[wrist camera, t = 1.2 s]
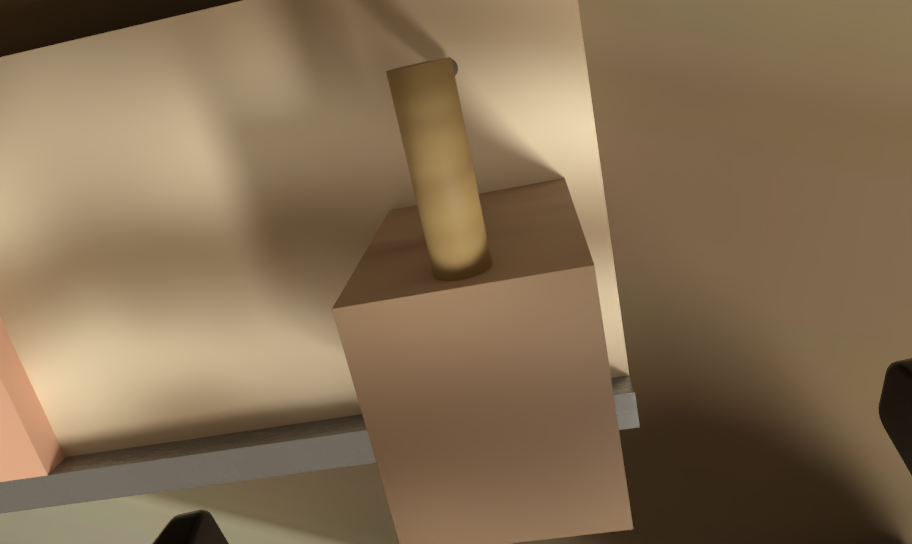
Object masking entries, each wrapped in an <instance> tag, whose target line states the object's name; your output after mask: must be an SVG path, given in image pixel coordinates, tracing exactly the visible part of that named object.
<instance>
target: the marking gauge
mask: <svg viewBox="0 0 912 544" xmlns="http://www.w3.org/2000/svg"><path fill="white" fill-rule="evenodd" d="M457 72H458V65H457V63H456V62H455V61H454V60H453V59H451V57H447V58H441V59H435V60H430V61H425V62H421V63H416V64H412V65H407V66H403V67H399V68H396V69H392V70H389V71H386V73H387V78H388V82H389V86H390V91H391V95H392V99H393V103H394V108H395V112H396V116H397V121H398V125H399V129H400V134H401V138H402V142H403V146H404V151H405V155H406V159H407V164H408V168H409V172H410V177H411V181H412V185H413V189H414V194H415V198H416V202H417V205H416V206H410V207H405V208H399V209H394V210H389V212H388V214H387V215H386V217H385V219H384V221H383V222H382V224H381V226H380V227H379V229H378V231H377V233H376V234H375V236H374V238H373V239H372V241H371V243H370V245H369V246H368V248H367V250H366V251H365V253H364V255H363V256H362V258H361V260H360V262H359V263H358V265H357V267H356V268H355V270H354V272H353V274H352V275H351V277H350V279H349V280H348V282H347V284H346V285H345V287H344V289H343V291H342V292H341V294H340V296H339V297H338V299H337V301H336V303H335V304H334V306H333V308H332V312H333V315H334V319H335V322H336V326H337V329H338V333H339V336H340V340H341V343H342V346H343V350H344V353H345V357H346V360H347V364H348V367H349V371H350V374H351V377H352V381H353V384H354V388H355V391H356V395H357V398H358V402H359V405H360V408H361V412H362V415H363V419H364V422H365V426H366V429H367V432H368V436H369V439H370V443H371V446H372V450H373V453H374V457H375V460H376V464H377V467H378V470H379V474H380V477H381V481H382V484H383V488H384V491H385V494H386V498H387V501H388V505H389V508H390V512H391V515H392V519H393V522H394V525H395V529H396V532H397V536H398V539H399V543H400V544H510V543H519V542H528V541H536V540H545V539H554V538H562V537H571V536H580V535H588V534H597V533H606V532H614V531H623V530H632V529H633V522H632V516H631V509H630V502H629V495H628V489H627V482H626V475H625V468H624V462H623V455H622V448H621V441H620V435H619V428H618V421H617V414H616V408H615V401H614V394H613V387H612V381H611V374H610V367H609V360H608V354H607V347H606V340H605V333H604V327H603V320H602V313H601V306H600V300H599V293H598V286H597V279H596V272H595V266H594V262H593V260H592V257H591V254H590V251H589V248H588V245H587V242H586V239H585V236H584V233H583V230H582V227H581V224H580V221H579V218H578V215H577V213H576V210H575V207H574V204H573V201H572V198H571V195H570V192H569V189H568V186H567V183H566V180H565V178H561V179H556V180H551V181H545V182H540V183H534V184H529V185H524V186H518V187H513V188H507V189H502V190H497V191H491V192H486V193H480V194H478V189H477V184H476V179H475V174H474V169H473V164H472V159H471V154H470V149H469V144H468V139H467V134H466V129H465V124H464V119H463V114H462V109H461V104H460V99H459V94H458V89H457V84H456V79H455V75H456V74H457Z"/></svg>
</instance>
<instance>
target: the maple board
mask: <svg viewBox="0 0 912 544" xmlns="http://www.w3.org/2000/svg"><path fill="white" fill-rule="evenodd" d="M447 57H451V59H453V60H454V61H455V62H456V63H457V65H458V72H457V74H456V75H455V79H456V84H457V89H458V94H459V99H460V104H461V109H462V114H463V119H464V124H465V129H466V134H467V139H468V144H469V149H470V154H471V159H472V164H473V169H474V174H475V179H476V184H477V189H478V194H480V193H486V192H491V191H497V190H502V189H507V188H513V187H518V186H524V185H529V184H534V183H540V182H545V181H551V180H556V179H561V178H565V180H566V183H567V186H568V189H569V192H570V195H571V198H572V201H573V204H574V207H575V210H576V213H577V215H578V218H579V221H580V224H581V227H582V230H583V233H584V236H585V239H586V242H587V245H588V248H589V251H590V254H591V257H592V260H593V262H594V266H595V272H596V279H597V286H598V293H599V300H600V306H601V313H602V320H603V327H604V333H605V340H606V347H607V354H608V360H609V367H610V374H611V378H614V377H621V376H628V375H629V369H628V362H627V355H626V347H625V340H624V333H623V326H622V318H621V311H620V304H619V297H618V289H617V282H616V275H615V268H614V260H613V253H612V246H611V238H610V231H609V224H608V217H607V209H606V202H605V195H604V188H603V180H602V173H601V166H600V159H599V151H598V144H597V137H596V130H595V122H594V115H593V108H592V101H591V93H590V86H589V79H588V72H587V64H586V57H585V50H584V43H583V35H582V28H581V21H580V14H579V6H578V0H243V1H238V2H234V3H230V4H225V5H221V6H217V7H213V8H208V9H204V10H200V11H196V12H191V13H187V14H183V15H178V16H174V17H170V18H166V19H161V20H157V21H153V22H149V23H144V24H140V25H136V26H132V27H127V28H123V29H119V30H114V31H110V32H106V33H102V34H97V35H93V36H89V37H85V38H80V39H76V40H72V41H67V42H63V43H59V44H55V45H50V46H46V47H42V48H38V49H33V50H29V51H25V52H20V53H16V54H12V55H8V56H3V57H0V318H1V320H2V322H3V324H4V326H5V328H6V331H7V333H8V335H9V337H10V339H11V341H12V343H13V346H14V348H15V350H16V352H17V354H18V356H19V358H20V361H21V363H22V365H23V367H24V369H25V371H26V373H27V376H28V378H29V380H30V382H31V384H32V386H33V388H34V390H35V393H36V395H37V397H38V399H39V401H40V403H41V405H42V408H43V410H44V412H45V414H46V416H47V418H48V420H49V423H50V425H51V427H52V429H53V431H54V433H55V435H56V438H57V440H58V442H59V444H60V446H61V448H62V450H63V453H64V455H65V457H70V456H77V455H84V454H90V453H97V452H104V451H111V450H118V449H125V448H132V447H139V446H146V445H153V444H159V443H166V442H173V441H180V440H187V439H194V438H201V437H208V436H215V435H221V434H228V433H235V432H242V431H249V430H256V429H263V428H270V427H277V426H283V425H290V424H297V423H304V422H311V421H318V420H325V419H332V418H339V417H346V416H352V415H359V414H362V412H361V408H360V405H359V402H358V398H357V395H356V391H355V388H354V384H353V381H352V377H351V374H350V371H349V367H348V364H347V360H346V357H345V353H344V350H343V346H342V343H341V340H340V336H339V333H338V329H337V326H336V322H335V319H334V315H333V312H332V308H333V306H334V304H335V303H336V301H337V299H338V297H339V296H340V294H341V292H342V291H343V289H344V287H345V285H346V284H347V282H348V280H349V279H350V277H351V275H352V274H353V272H354V270H355V268H356V267H357V265H358V263H359V262H360V260H361V258H362V256H363V255H364V253H365V251H366V250H367V248H368V246H369V245H370V243H371V241H372V239H373V238H374V236H375V234H376V233H377V231H378V229H379V227H380V226H381V224H382V222H383V221H384V219H385V217H386V215H387V214H388V212H389V210H394V209H399V208H405V207H410V206H416V205H417V202H416V198H415V194H414V189H413V185H412V181H411V177H410V172H409V168H408V164H407V159H406V155H405V151H404V146H403V142H402V138H401V134H400V129H399V125H398V121H397V116H396V112H395V108H394V103H393V99H392V95H391V91H390V86H389V82H388V78H387V73H386V71H389V70H392V69H396V68H399V67H403V66H407V65H412V64H416V63H421V62H425V61H430V60H435V59H441V58H447Z"/></svg>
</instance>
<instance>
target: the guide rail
mask: <svg viewBox="0 0 912 544" xmlns="http://www.w3.org/2000/svg"><path fill="white" fill-rule="evenodd" d="M611 381H612V387H613V394H614V401H615V408H616V414H617V421H618V428H619V430H623V429H630V428H638V427H640V425H639V418H638V411H637V403H636V396H635V391H634V388H633V385H632V382H631V379H630V376H629V375H628V376H621V377H614V378H611ZM371 463H376V460H375V457H374V453H373V450H372V446H371V443H370V439H369V436H368V432H367V429H366V426H365V422H364V419H363V415H362V414H359V415H352V416H346V417H339V418H332V419H325V420H318V421H311V422H304V423H297V424H290V425H283V426H277V427H270V428H263V429H256V430H249V431H242V432H235V433H228V434H221V435H215V436H208V437H201V438H194V439H187V440H180V441H173V442H166V443H159V444H153V445H146V446H139V447H132V448H125V449H118V450H111V451H104V452H97V453H90V454H84V455H77V456H70V457H65V458H64V459H63V460H62V461H61V462H60V463H59V464H58V465H57V466H56V467H55V468H54V469H53V470H52V471H51V472H50V473H49V474H48V475H47V476H40V477H33V478H26V479H19V480H12V481H5V482H0V513H7V512H15V511H22V510H30V509H37V508H44V507H52V506H59V505H67V504H74V503H82V502H89V501H96V500H104V499H111V498H119V497H126V496H133V495H141V494H148V493H156V492H163V491H171V490H178V489H185V488H193V487H200V486H208V485H215V484H222V483H230V482H237V481H245V480H252V479H260V478H267V477H274V476H282V475H289V474H297V473H304V472H311V471H319V470H326V469H334V468H341V467H349V466H356V465H363V464H371Z"/></svg>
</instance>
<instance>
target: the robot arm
mask: <svg viewBox="0 0 912 544" xmlns="http://www.w3.org/2000/svg"><path fill="white" fill-rule="evenodd" d="M879 415H880V419H881V422H882V424H883V426H884V428H885V430H886V432H887V433H888V435H889V437H890V439H891V440H892V442H893V444H894V445H895V447H896V449H897V451H898V452H899V454H900V456H901V458H902V459H903V461H904V463H905V464H906V466H907V468H908V470H909V471H910V473H911V475H912V358H911V359H906V360H901V361H897V362H894V363H891V365H890V366H889V367H888V368H887V371H886V375H885V380H884V384H883V389H882V394H881V398H880V403H879ZM153 544H229V543H228V542H227V540H226V538H225V537H224V535H223V533H222V532H221V530H220V528H219V527H218V525H217V523H216V522H215V520H214V518H213V517H212V515H211V514H210V513H209V512H208V511H206V510H197V511H193V512H188V513H183V514H179V515H177V516H175V517H174V518H173V519H171V520H170V522H169V523H168V524H167V525H166V527H165V528H164V529H163V531H162V532H161V533H160V534H159V536H158V537H157V538H156V540H155V541H154V542H153Z"/></svg>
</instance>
